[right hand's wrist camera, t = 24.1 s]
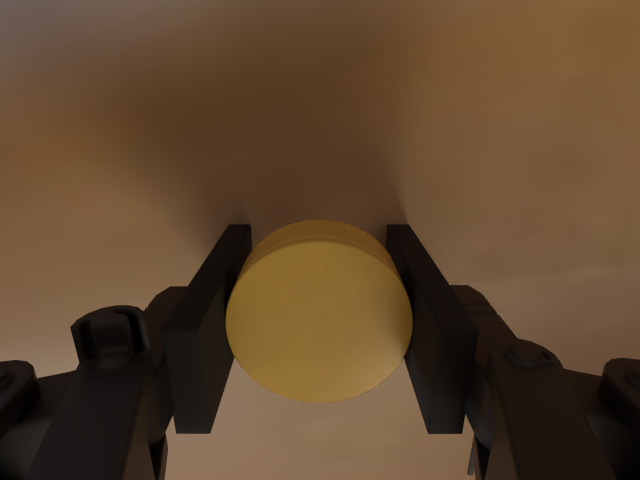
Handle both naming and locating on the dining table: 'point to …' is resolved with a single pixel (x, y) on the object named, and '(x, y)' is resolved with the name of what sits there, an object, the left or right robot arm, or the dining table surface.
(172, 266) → the dining table surface
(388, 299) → the lid
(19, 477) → the right robot arm
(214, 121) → the dining table surface
